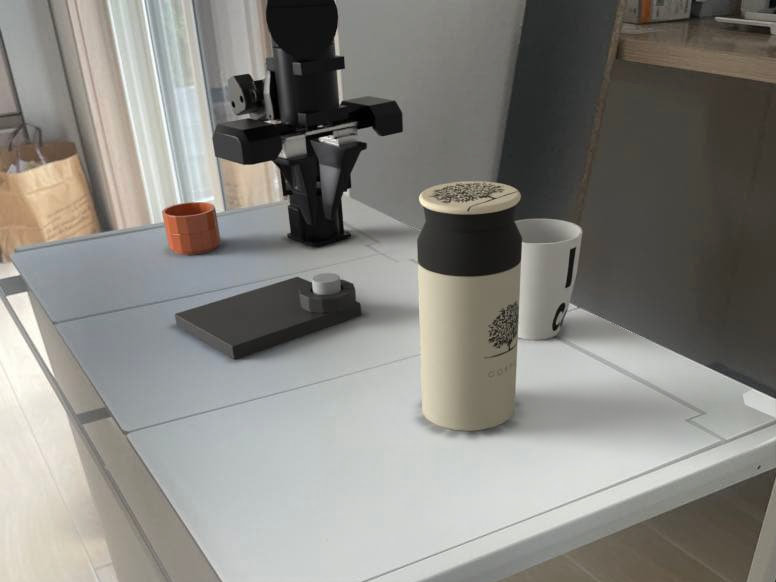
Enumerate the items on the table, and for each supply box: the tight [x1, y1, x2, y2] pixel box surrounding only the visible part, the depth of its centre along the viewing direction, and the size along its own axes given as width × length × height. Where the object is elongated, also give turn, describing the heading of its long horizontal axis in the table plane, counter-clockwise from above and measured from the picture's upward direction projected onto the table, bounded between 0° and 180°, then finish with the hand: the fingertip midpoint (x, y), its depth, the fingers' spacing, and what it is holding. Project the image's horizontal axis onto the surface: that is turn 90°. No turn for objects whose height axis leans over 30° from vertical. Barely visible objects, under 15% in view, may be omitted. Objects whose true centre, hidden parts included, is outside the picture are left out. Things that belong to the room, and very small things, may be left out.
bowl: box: [161, 201, 222, 256], centre depth 111 cm, size 7×7×5 cm
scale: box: [174, 276, 362, 360], centre depth 90 cm, size 16×12×3 cm
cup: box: [514, 218, 583, 341], centre depth 83 cm, size 8×8×10 cm
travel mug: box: [416, 180, 522, 432], centre depth 67 cm, size 8×8×18 cm
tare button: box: [311, 272, 341, 295], centre depth 89 cm, size 3×3×2 cm
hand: (320, 221), depth 85 cm, fingers closed
